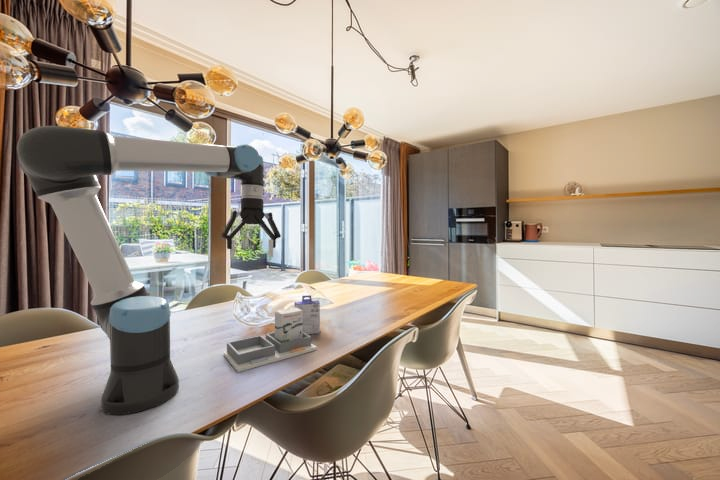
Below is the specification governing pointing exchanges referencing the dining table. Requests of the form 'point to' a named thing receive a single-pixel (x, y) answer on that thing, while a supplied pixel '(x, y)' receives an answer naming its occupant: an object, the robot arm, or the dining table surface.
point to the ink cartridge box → (310, 315)
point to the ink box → (288, 324)
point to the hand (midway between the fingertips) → (252, 257)
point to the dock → (264, 350)
